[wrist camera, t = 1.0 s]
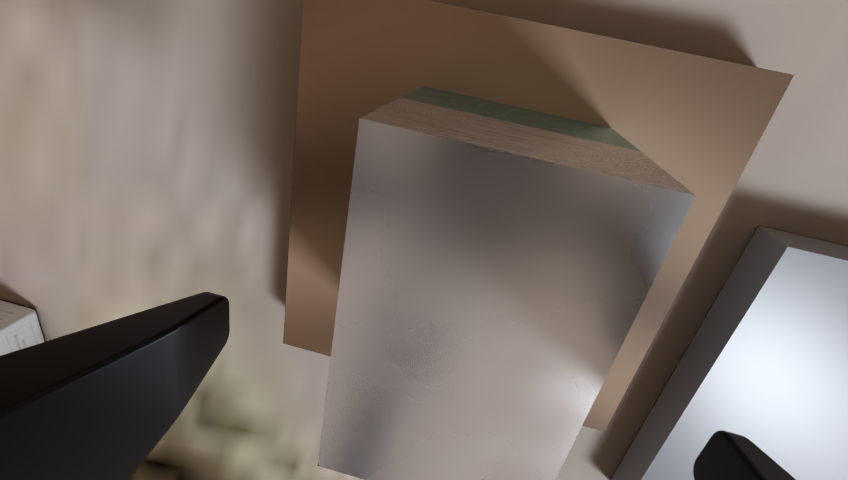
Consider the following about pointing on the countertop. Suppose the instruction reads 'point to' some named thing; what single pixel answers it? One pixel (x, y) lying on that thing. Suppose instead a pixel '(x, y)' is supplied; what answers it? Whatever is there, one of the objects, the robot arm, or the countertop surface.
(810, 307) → the slate stand
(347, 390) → the block
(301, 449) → the countertop surface
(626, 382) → the walnut stand
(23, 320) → the supplement box
